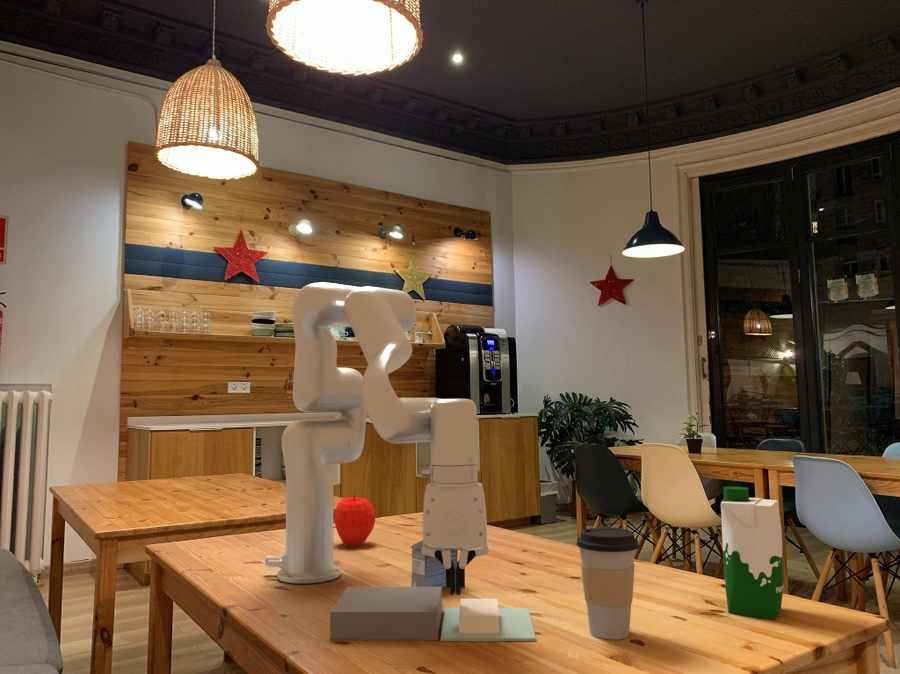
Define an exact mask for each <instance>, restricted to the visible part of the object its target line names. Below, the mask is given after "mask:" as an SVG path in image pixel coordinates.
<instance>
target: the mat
mask: <svg viewBox="0 0 900 674" xmlns="http://www.w3.org/2000/svg"><path fill="white" fill-rule="evenodd" d="M498 611H499V633H459V612H460V607H444V612H443V613H444V614H443V620H442V625H441V632H440V641H441V642H536V641H537V638H536V634H535V633H536V632H535V629H534V625H533V621H532V618H531V613H530V610H529V607H498Z"/></svg>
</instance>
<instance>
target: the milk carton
mask: <svg viewBox="0 0 900 674" xmlns="http://www.w3.org/2000/svg"><path fill="white" fill-rule="evenodd" d="M722 491H723V499H721V500H722V501H721V502H720V513H721V514H720V515H721V516H720V517H721V538H722V539H721V540H722V541H721V542H722V559H723V579H724V588H725V596H726V604H727V612H728V614H734V615H740V616H747V617H753V618H760V619H768V620H776V619H777V617H778V615H779V613H780V611H781V609H782V603H783V597H784V596H783V593H784V587H785V574H784V573H785V572H784V554H783V553H784V552H783V534H782V531H783V530H782V523H781V516H780V508H779V500H777V499H765V498H763V499H762V498H761V497H750V493H749V488H748V487H746V486H739V485H737V486H735V485H734V486H732V485H730V486H723V490H722Z"/></svg>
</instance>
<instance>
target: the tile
mask: <svg viewBox="0 0 900 674" xmlns="http://www.w3.org/2000/svg"><path fill="white" fill-rule="evenodd" d="M459 608H460V612H459V633H499V611H498V608H499V599H498V598H460V606H459Z"/></svg>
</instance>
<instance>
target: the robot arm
mask: <svg viewBox="0 0 900 674" xmlns="http://www.w3.org/2000/svg"><path fill="white" fill-rule="evenodd" d="M291 312H292V315H291V317H292V328H293V334H294V339H295V350H294V351H295V352H294V353H295V355H294V365H293V366H294V367H293V369H294V370H293V383H292V398H293V399H292V400H293V404H294V406H295V408H296V409H297V410H299V411H300V412H303V413H313V414H314V413H316V414H317V413H318V414H319V413H321V414H323V413H327V414H328V413H329V414H330V413H335V414H334V415H335V416H334V418H308V419H300V420H296V421H294V422H291V423H290V424H289V425H287V427H286V428H285V429H284V430H283V432H282V436H281V450H282V455H283V456H282V457H283V462H284V463H283V464H284V469H285V496H286V497H285V502H286V503H285V552H284V553H281V554H280V555H266V556H265V559H264V564H265V566H267V568H268V567H269V568H276V567H279V569H280V570H278V571H277V580H279V581H280V582H284V583H287V584H288V583H289V584H301V585H302V584H307V585H308V584H318V583H324V582H328V581H332V580H335V579H337V578H339V577H340V576H341V575H342V568H341V567H340V566H338V565H335V564H334V516H335V509H334V502H335V501H334V500H335V499H334V485H333V482H332V479H331V477H330V476H329V474H328V472H327V471H326V469H325V467H324V466H327V465H338V464H348V463H352V462H354V461H356V460H357V459H358V458H360V456H361V454H362V453H363V451H364V450H363V449H364V445H365V439H366V428H367V427H366V423H367V415H368V418H369V420H370V421H371V423H372V426H373V427H374V430H375V431H376V432H377V434H378V435H379V436H380V438H381V439H383V441H385V442H388V443H389V444H412V443H430V465H429V466H428V467H426V468H421V477H422V478H428V479H429V480H430V483H427V484H426V485H425V491H424V496H423V497H424V498H423V506H422V507H423V511H422V512H423V513H422V540H423V547H422V554H424V555H427V556H431V557H436V558H437V559H438V560H439V561H440V562H441V563H442V564H443V565H444V567H445V568H446V587H445V588H446V589H449V591H450V593H449V595H450V596H454V595H457V596H460V595H462V594H461V591H462V589H465V587H466V567H467V566H468V565H469V564H470V563H471V562H472V561H473V560H474V558H477V557H481V556H486V555H488V554H489V552H490V551H489V545H488V542H487V541H488V539H487V538H488V526H487V510H486V509H487V508H486V498H485V493H484V492H485V491H484V487H483V484H482V483H481V482H478V430H477V429H478V424H477V422H478V420H477V419H478V418H477V417H478V416H477V411H478V410H477V404H476V403H475V401H473V400H472V399H470V398H469V399H468V398H437V397H398V395H397V394H396V392H395V390H394V388H393V387H392V385H391V382H390V380H389V374H391V373H393V372H394V371H396V370H398V369H400V368H401V367H403V365H404V364H406V363H407V361H409V360H410V358H411V356H412V353H413V346H412V343H411V341H410V339H409V337H408V336H407V334H406V333H407V332H409V331H410V330H412V329H413V328H414V326H415V324H416V322H417V317H418V311H417V305H416V303H415V301H414V299H413V297H412V296H411V295H410V294H409V293H407V292H406V291H403V290H399V289H393V288H385V287H377V286H362V287H361V286H354V285H348V284H347V285H346V284H340V283H332V282H313V283H309V284H306V285H305V286H303V287H302V288H300V289H299V291H297V294H296V296H295V298H294V301H293V304H292V310H291ZM328 326H333V327H334V326H335V327H342V328H343V327H344V328H351V330H352V331H353V334H354V336H355V338H356V340H357V342H358V344H359V346H360V350H362V353H363V355H364V356H365V359H366V361H367V364H368V365H367V367H366V369H365V371H364V374H363V375H362V374H361V372H360V371H358V370H357V369H354V368H351V367H337V366H338V365H337V359H338V344H337V342H336V339H335V337H334V335H333V334H332V331H331V330H330V328H329V327H328ZM450 550H458V551H460V552H459V560H458V562H457V566H456V584H455V566H454V562H453V561H452V558H451V552H450Z"/></svg>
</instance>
